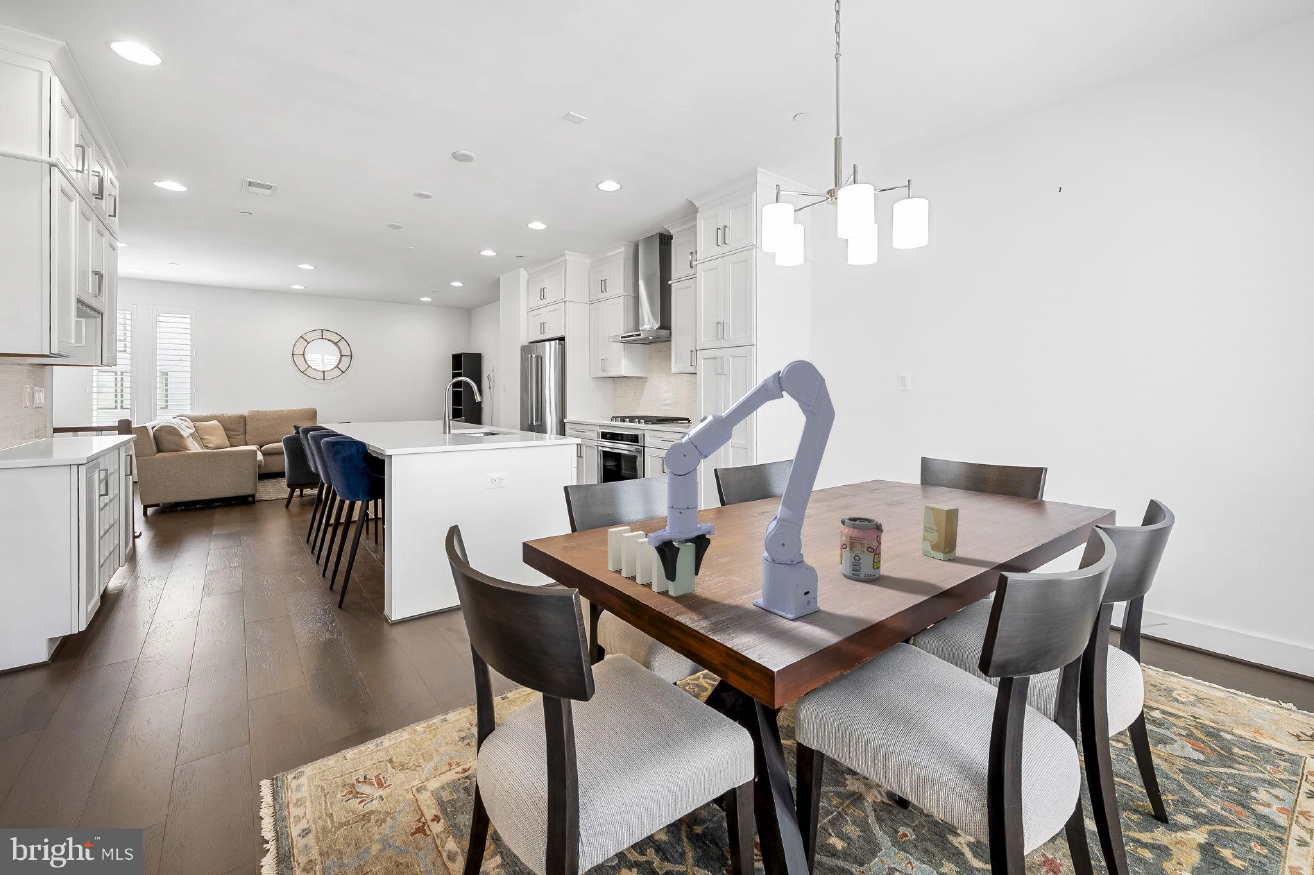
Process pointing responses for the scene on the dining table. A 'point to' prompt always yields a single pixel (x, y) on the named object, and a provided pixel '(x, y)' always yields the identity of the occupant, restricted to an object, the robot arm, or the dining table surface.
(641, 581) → the domino
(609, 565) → the domino
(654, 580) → the domino
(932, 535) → the skincare box
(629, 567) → the domino
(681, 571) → the sage domino
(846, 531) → the paint can
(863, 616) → the dining table surface
